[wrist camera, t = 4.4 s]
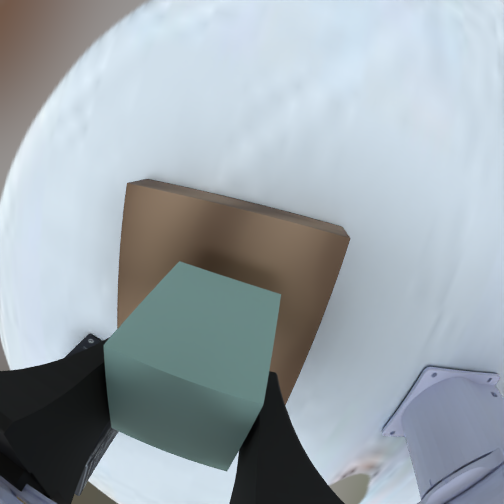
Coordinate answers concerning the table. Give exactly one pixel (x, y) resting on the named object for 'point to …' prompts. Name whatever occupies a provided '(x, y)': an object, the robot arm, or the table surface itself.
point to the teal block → (192, 365)
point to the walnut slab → (233, 257)
